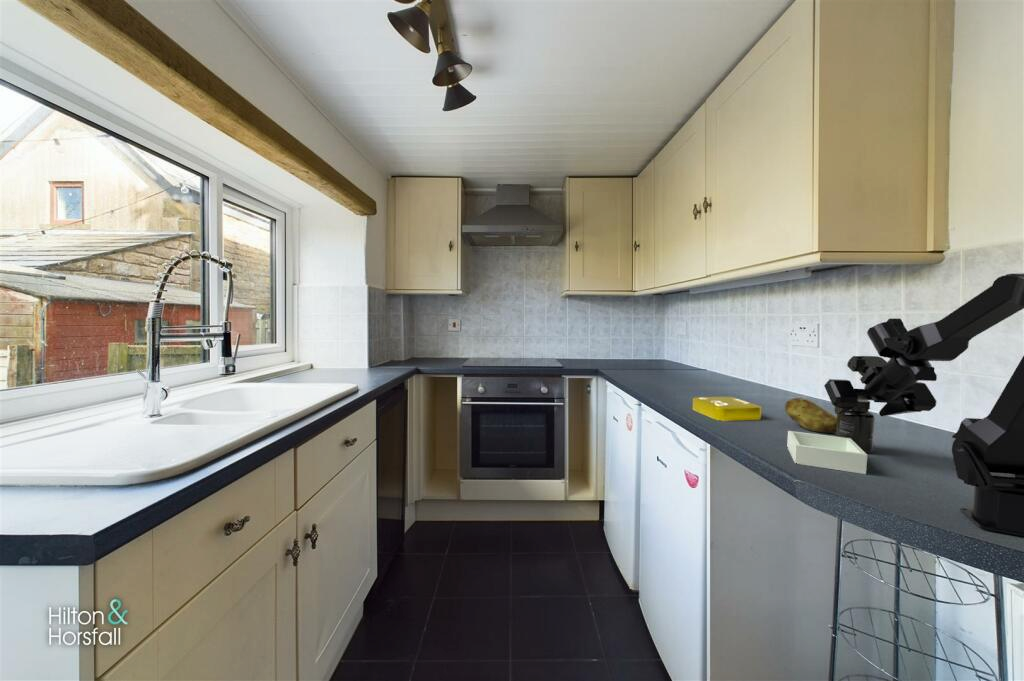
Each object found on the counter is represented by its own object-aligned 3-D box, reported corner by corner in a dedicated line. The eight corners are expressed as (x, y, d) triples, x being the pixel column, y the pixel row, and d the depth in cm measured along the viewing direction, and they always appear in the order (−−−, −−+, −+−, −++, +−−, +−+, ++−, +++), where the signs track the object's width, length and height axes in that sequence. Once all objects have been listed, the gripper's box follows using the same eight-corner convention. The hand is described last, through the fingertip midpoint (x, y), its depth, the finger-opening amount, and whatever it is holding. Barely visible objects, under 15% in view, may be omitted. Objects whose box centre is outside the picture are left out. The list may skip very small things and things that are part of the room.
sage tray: (865, 474, 80) (867, 455, 80) (795, 463, 86) (796, 445, 85) (849, 455, 91) (850, 438, 90) (787, 446, 96) (788, 430, 96)
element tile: (764, 421, 120) (765, 405, 120) (718, 422, 118) (719, 406, 118) (730, 408, 135) (731, 394, 135) (689, 409, 133) (690, 395, 133)
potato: (817, 436, 104) (819, 406, 103) (778, 422, 117) (779, 396, 116) (845, 435, 105) (847, 405, 105) (803, 421, 118) (804, 395, 117)
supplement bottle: (879, 455, 91) (883, 403, 90) (845, 452, 92) (849, 402, 91) (860, 445, 98) (863, 397, 97) (828, 443, 99) (831, 395, 98)
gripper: (930, 346, 85) (887, 386, 97) (832, 344, 88) (802, 383, 100) (960, 389, 78) (910, 427, 90) (852, 385, 81) (818, 422, 93)
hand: (858, 413), depth 93 cm, fingers open, 9 cm apart
